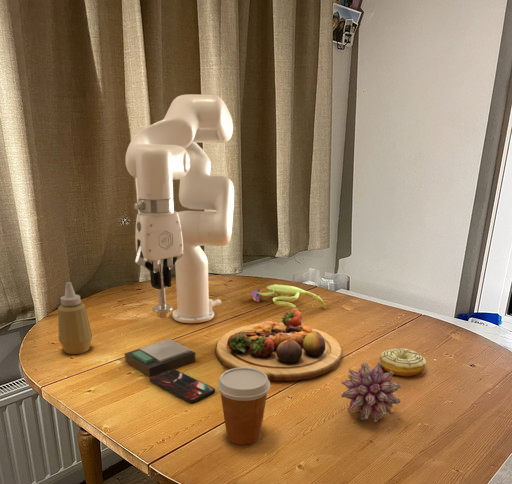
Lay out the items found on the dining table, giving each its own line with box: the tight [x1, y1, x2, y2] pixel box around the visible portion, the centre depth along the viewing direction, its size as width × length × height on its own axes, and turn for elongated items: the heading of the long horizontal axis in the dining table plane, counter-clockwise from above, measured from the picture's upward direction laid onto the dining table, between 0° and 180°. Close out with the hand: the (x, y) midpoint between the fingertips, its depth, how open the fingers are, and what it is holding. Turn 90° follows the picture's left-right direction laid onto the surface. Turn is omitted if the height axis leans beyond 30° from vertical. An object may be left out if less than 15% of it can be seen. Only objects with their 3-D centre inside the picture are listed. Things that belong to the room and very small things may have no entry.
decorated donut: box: [379, 347, 427, 377], centre depth 120 cm, size 10×11×4 cm
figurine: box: [251, 283, 328, 310], centre depth 163 cm, size 18×27×6 cm
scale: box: [124, 338, 196, 378], centre depth 122 cm, size 13×11×3 cm
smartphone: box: [149, 368, 216, 403], centre depth 111 cm, size 7×1×15 cm
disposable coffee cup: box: [216, 367, 271, 445], centre depth 91 cm, size 10×10×12 cm
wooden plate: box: [215, 309, 343, 382], centre depth 126 cm, size 32×32×8 cm
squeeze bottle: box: [57, 281, 93, 355], centre depth 125 cm, size 8×8×18 cm
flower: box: [340, 361, 403, 423], centre depth 98 cm, size 12×12×12 cm
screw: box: [152, 262, 174, 319], centre depth 117 cm, size 13×5×5 cm
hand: (161, 286), depth 116 cm, fingers closed on screw, 2 cm apart
